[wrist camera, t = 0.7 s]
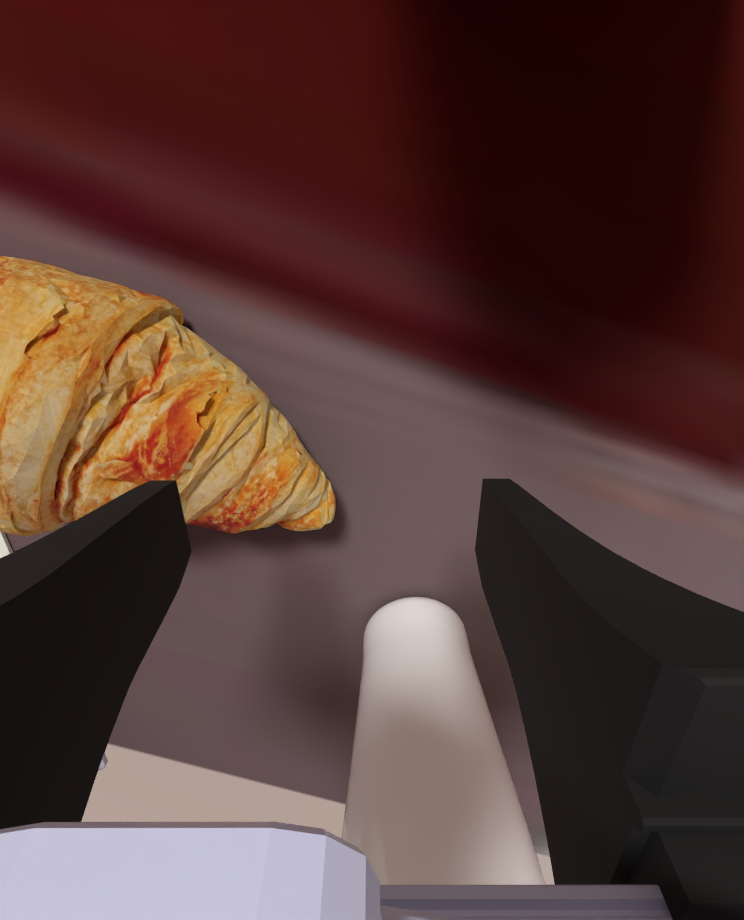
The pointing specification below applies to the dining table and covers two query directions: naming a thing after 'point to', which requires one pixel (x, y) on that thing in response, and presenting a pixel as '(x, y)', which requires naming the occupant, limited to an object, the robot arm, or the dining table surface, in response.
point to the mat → (4, 545)
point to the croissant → (134, 413)
